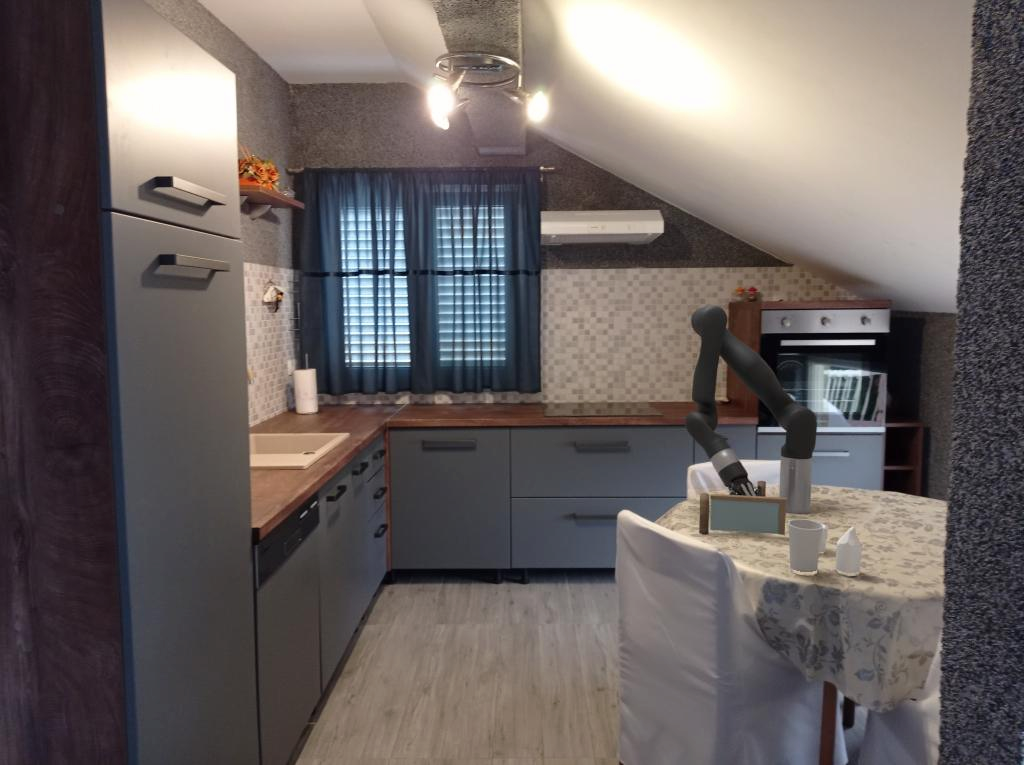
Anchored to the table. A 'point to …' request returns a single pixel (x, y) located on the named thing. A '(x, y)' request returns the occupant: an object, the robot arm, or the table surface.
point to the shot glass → (823, 538)
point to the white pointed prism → (849, 552)
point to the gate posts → (705, 509)
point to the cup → (804, 544)
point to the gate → (748, 513)
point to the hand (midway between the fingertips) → (760, 518)
